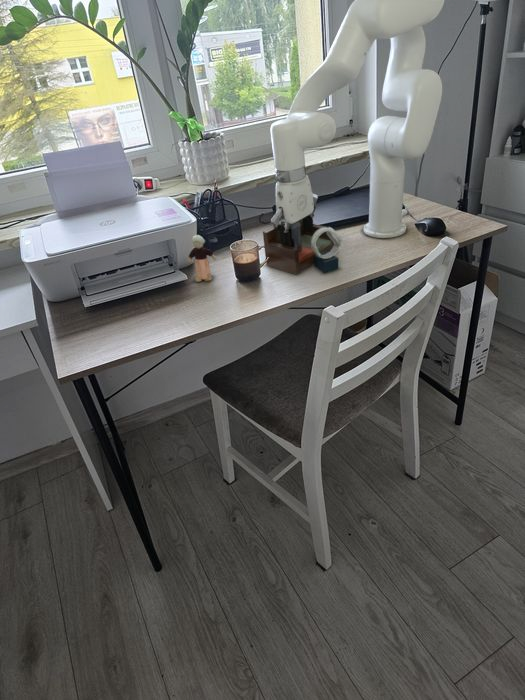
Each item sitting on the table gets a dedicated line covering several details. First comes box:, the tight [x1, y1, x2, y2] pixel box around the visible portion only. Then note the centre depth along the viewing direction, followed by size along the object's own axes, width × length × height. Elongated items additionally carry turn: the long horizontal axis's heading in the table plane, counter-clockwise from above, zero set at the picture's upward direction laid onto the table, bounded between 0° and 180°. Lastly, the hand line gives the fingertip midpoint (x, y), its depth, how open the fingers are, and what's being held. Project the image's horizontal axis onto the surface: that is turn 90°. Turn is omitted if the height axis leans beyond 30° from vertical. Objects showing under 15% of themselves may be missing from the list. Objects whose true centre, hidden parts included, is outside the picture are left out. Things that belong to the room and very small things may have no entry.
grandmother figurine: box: [187, 234, 217, 283], centre depth 123 cm, size 8×4×13 cm, turn 99°
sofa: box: [262, 219, 335, 276], centre depth 128 cm, size 17×11×10 cm, turn 136°
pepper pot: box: [284, 221, 302, 253], centre depth 124 cm, size 4×4×8 cm
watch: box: [311, 226, 343, 274], centre depth 122 cm, size 6×8×11 cm
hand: (297, 238), depth 126 cm, fingers open, 9 cm apart
